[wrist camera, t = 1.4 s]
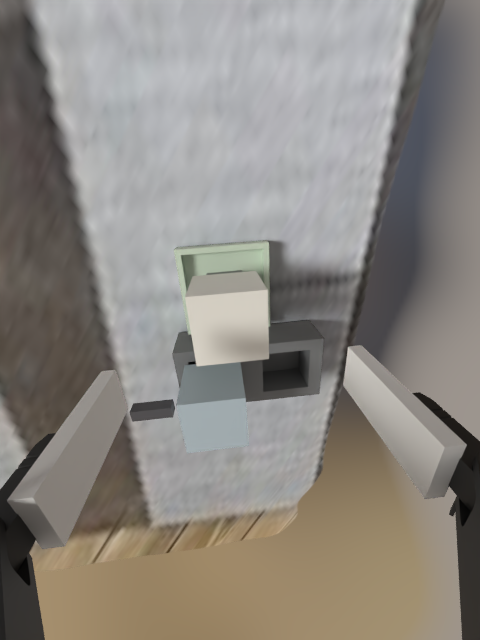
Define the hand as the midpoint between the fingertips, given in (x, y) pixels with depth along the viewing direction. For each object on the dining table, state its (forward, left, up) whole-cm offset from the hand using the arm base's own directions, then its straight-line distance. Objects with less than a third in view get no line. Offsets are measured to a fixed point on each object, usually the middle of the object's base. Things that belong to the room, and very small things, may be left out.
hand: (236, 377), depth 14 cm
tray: (0, 0, -17) cm, 17 cm away
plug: (0, 0, -17) cm, 17 cm away
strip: (+9, 0, -17) cm, 19 cm away
